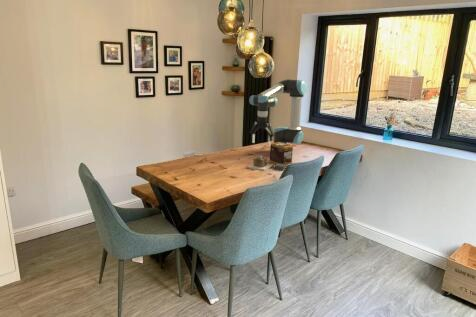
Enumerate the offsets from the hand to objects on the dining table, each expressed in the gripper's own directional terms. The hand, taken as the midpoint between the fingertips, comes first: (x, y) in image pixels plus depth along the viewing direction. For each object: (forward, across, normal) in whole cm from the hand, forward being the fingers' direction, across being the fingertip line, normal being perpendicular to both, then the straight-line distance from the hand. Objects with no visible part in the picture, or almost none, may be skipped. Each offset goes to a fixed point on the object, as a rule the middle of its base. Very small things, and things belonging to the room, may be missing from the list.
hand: (261, 143), depth 278 cm
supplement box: (+19, +9, +19) cm, 28 cm away
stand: (+18, +15, +4) cm, 24 cm away
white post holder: (+18, 0, 0) cm, 18 cm away
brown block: (+17, 0, 0) cm, 17 cm away
